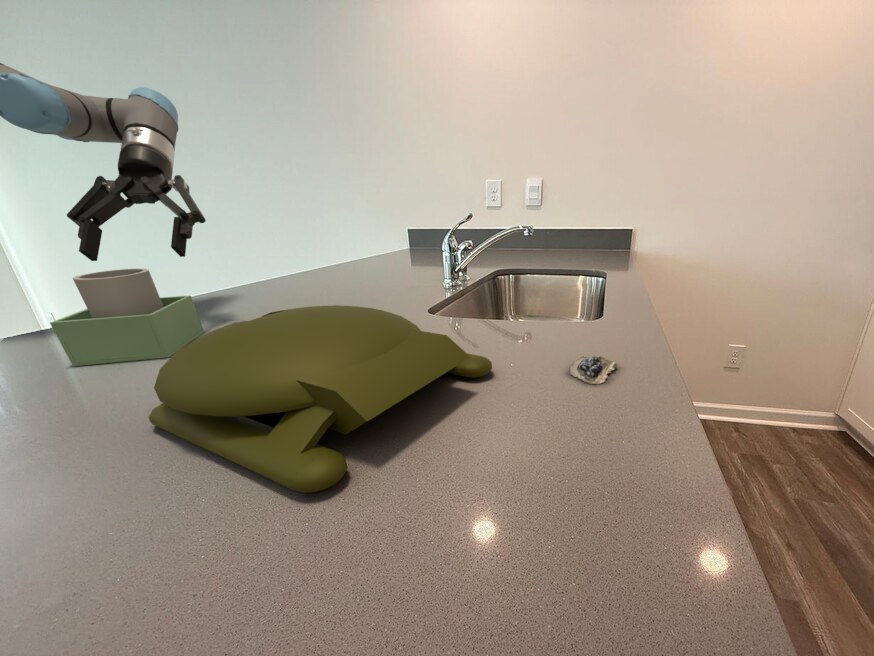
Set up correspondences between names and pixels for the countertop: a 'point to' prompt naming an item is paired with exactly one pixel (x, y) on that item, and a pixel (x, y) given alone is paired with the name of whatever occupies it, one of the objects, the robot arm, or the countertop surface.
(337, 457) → the spaceship
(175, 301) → the bin
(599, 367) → the blueberries
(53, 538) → the countertop surface
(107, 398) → the countertop surface
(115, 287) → the cup
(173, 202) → the robot arm
